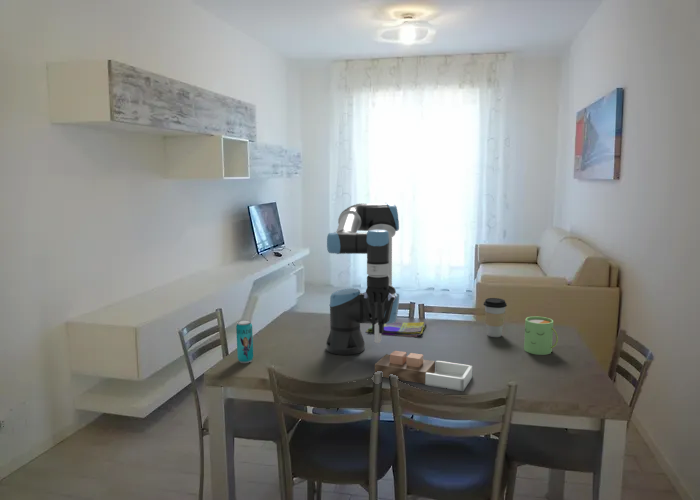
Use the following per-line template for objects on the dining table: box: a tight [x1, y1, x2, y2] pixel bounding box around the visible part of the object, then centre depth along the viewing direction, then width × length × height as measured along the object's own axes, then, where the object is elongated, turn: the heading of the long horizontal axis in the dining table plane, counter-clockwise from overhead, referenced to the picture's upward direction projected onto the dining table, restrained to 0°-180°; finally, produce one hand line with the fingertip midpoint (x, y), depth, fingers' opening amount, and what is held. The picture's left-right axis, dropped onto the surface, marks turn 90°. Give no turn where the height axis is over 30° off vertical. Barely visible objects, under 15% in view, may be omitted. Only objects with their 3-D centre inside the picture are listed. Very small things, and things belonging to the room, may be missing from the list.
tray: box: [424, 360, 474, 392], centre depth 183 cm, size 12×13×4 cm
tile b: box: [406, 352, 424, 367], centre depth 188 cm, size 4×4×3 cm
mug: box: [523, 315, 559, 356], centre depth 211 cm, size 13×10×12 cm
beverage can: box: [235, 319, 254, 364], centre depth 203 cm, size 6×6×15 cm
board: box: [374, 353, 436, 385], centre depth 190 cm, size 18×11×4 cm, turn 65°
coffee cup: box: [483, 297, 508, 338], centre depth 230 cm, size 9×9×15 cm
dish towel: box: [365, 321, 427, 338], centre depth 241 cm, size 18×24×3 cm
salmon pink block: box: [389, 350, 408, 365], centre depth 190 cm, size 4×4×3 cm
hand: (378, 341), depth 192 cm, fingers closed
